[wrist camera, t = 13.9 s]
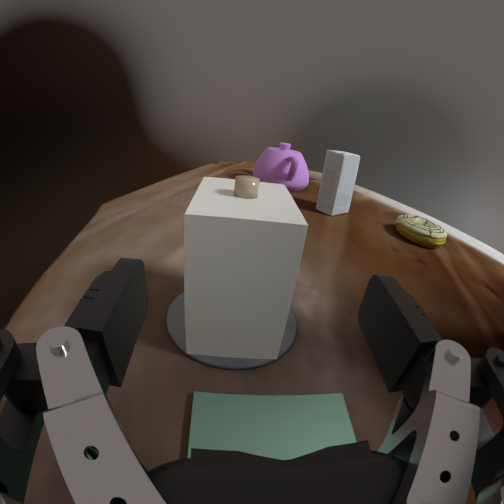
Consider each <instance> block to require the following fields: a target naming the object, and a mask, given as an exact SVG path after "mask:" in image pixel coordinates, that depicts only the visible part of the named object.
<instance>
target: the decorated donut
mask: <svg viewBox="0 0 504 504" xmlns="http://www.w3.org/2000/svg"><path fill="white" fill-rule="evenodd" d="M396 230H397V231H398V232H399V233H400V235H402V236H404V237H405V238H406V239H408V240H410V241H411V242H413V243H416V244H418V245H420V246H423V247H426V248H431V249H433V248H438V247H440V246H441V245H443V244H444V243H445V240H446V236H447V233H446V232H445V230H444V229H443V228H442V227H441V226H439V225H438V224H436V223H434V222H432V221H430V220H428V219H426V218H422V217H419V216H414V215H400V216H398V218H397V220H396Z"/></svg>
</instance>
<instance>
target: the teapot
mask: <svg viewBox="0 0 504 504" xmlns="http://www.w3.org/2000/svg"><path fill="white" fill-rule="evenodd" d="M290 146H291V144H288V143H280V148H274V147H271V148H270V147H269V148H268V149H266V150H265V151H264V152H263V154H262V155H261V156H260V157H259V159H258V160H257V162H256V164H255V166H254V169H253V173H252V176H253V177H257V178H259V179H260V182H267V183H275V184H284V185H285V186H286V188H287V190H288V191H289V192H298V191H301V190H302V189H304V188H305V187H306V186H307V185H308V182H309V173H308V168H307V165H306V162H305V160H304V158H303V156H302V154H301V153H300V152H298V151H294V150H290V149H289V148H290Z"/></svg>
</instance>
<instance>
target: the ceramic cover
mask: <svg viewBox="0 0 504 504" xmlns="http://www.w3.org/2000/svg"><path fill="white" fill-rule="evenodd" d="M307 228H308V224H307V223H306V221H305V219H304V217H303V215H302V214H301V212H300V210H299V208H298V207H297V205H296V203H295V202H294V200H293V198H292V196H291V195H290V193H289V191H288V190H287V188H286V186H285V185H284V184H275V183H267V182H260V179H259V178H257V177H253V176H246V175H239V176H236V177H235V179H226V178H213V177H204V178H203V180H202V182H201V184H200V186H199V188H198V190H197V192H196V193H195V195H194V197H193V199H192V201H191V203H190V205H189V207H188V209H187V211H186V213H185V226H184V303H185V334H186V354H196V355H207V356H219V357H233V358H252V359H277V358H278V354H279V350H280V346H281V342H282V338H283V334H284V330H285V326H286V322H287V318H288V314H289V310H290V306H291V301H292V297H293V293H294V289H295V284H296V280H297V275H298V271H299V266H300V262H301V257H302V252H303V248H304V243H305V238H306V233H307Z"/></svg>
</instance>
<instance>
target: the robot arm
mask: <svg viewBox="0 0 504 504" xmlns="http://www.w3.org/2000/svg"><path fill="white" fill-rule="evenodd" d="M147 306H148V296H147V288H146V280H145V271H144V263H143V261H142V260H141V259H129V258H120V259H119V261H118V262H117V264H116V265H115V267H114V268H113V270H112V271H105V272H104V273H102V274H101V275H100V276H98V277H97V278H95V280H94V281H93V282H92V284H91V285H90V287H89V290H87V291H86V293H85V294H84V296H83V298H82V299H81V300H80V302H79V303H78V305H77V306H76V308H75V310H74V311H73V313H72V314H71V316H70V318H69V319H68V321H67V322H66V324H65V326H61V327H56V328H53V329H50V330H48V331H47V332H45V333H44V334H43V335H42V336H41V337H40V338H39V340H38V342H37V343H22V344H16V342H15V340H14V338H13V336H12V334H11V333H10V332H9V331H7V330H4V329H0V402H1V400H2V398H3V395H5V396H6V397H7V401H6V404H5V406H4V409H3V411H2V413H1V416H0V504H24V498H25V493H26V488H27V483H28V478H29V474H30V470H31V466H32V462H33V458H34V454H35V450H36V447H37V443H38V440H39V436H40V433H41V430H42V427H43V423H44V422H45V425H46V429H47V432H48V435H49V439H50V442H51V445H52V448H53V451H54V454H55V456H56V459H57V462H58V464H59V467H60V470H61V472H62V475H63V477H64V479H65V482H66V484H67V486H68V489H69V491H70V493H71V495H72V497H73V500H74V502H75V504H467V503H466V499H467V495H468V491H469V487H470V483H471V482H472V485H473V489H474V492H475V496H476V500H477V502H475V503H473V504H504V423H503V427H502V429H501V431H500V432H499V433H498V434H497V435H496V436H494V434H493V432H492V430H491V427H490V425H489V423H488V420H487V418H486V416H485V414H484V412H483V410H482V409H483V408H484V406H485V405H486V404H487V403H488V402H489V401H490V400H491V399H492V398H494V400H495V402H496V404H497V406H498V408H499V410H500V412H501V414H502V416H503V420H504V351H502V350H500V349H498V348H490V349H488V350H487V352H486V353H485V355H484V356H483V358H482V359H479V358H471V357H470V356H469V354H468V352H467V351H466V350H465V348H464V347H462V346H461V345H460V344H458V343H456V342H454V341H451V340H443V339H442V338H441V336H440V335H439V333H438V332H437V330H436V329H435V327H434V326H433V324H432V323H431V322H430V320H429V319H428V317H427V316H425V313H424V312H423V310H422V309H421V308H420V306H419V305H418V303H417V302H416V300H415V299H414V298H413V297H412V296H411V295H410V294H408V293H407V292H406V291H405V290H403V289H402V287H401V286H400V285H399V283H398V282H397V281H396V279H395V278H394V277H393V276H386V275H373V276H372V277H371V278H370V281H369V283H368V286H367V289H366V292H365V295H364V297H363V300H362V303H361V305H360V308H359V312H358V322H359V325H360V328H361V330H362V332H363V334H364V336H365V339H366V341H367V343H368V345H369V347H370V350H371V352H372V354H373V356H374V359H375V361H376V363H377V366H378V368H379V370H380V373H381V375H382V377H383V380H384V382H385V385H386V387H387V389H388V392H395V391H401V390H402V392H403V395H402V396H401V398H400V399H399V402H398V405H397V408H396V410H395V413H394V416H393V419H392V422H391V424H390V427H389V430H388V432H387V435H386V437H385V440H384V441H383V443H382V445H381V446H380V448H379V449H378V451H371V450H370V447H369V443H368V440H366V441H361V442H355V443H349V444H342V445H335V446H329V447H326V448H323V449H321V450H318V451H315V452H312V453H309V454H306V455H303V456H300V457H297V458H293V459H290V460H280V459H274V458H269V457H264V456H259V455H254V454H249V453H245V452H241V451H229V450H211V449H198V448H191V458H186V459H180V460H176V461H171V462H168V463H165V464H162V465H160V466H158V467H156V468H153V469H152V470H150V471H148V470H147V469H146V467H145V466H144V464H143V463H142V461H141V459H140V458H139V456H138V454H137V453H136V451H135V450H134V448H133V446H132V444H131V443H130V441H129V439H128V437H127V436H126V434H125V432H124V430H123V428H122V426H121V424H120V422H119V420H118V418H117V416H116V414H115V412H114V410H113V408H112V406H111V404H110V402H109V400H108V398H107V396H106V393H107V390H108V387H109V385H112V386H117V387H121V385H122V382H123V379H124V376H125V373H126V370H127V367H128V364H129V361H130V358H131V355H132V352H133V349H134V346H135V343H136V340H137V338H138V335H139V332H140V329H141V327H142V324H143V321H144V318H145V316H146V312H147Z"/></svg>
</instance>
